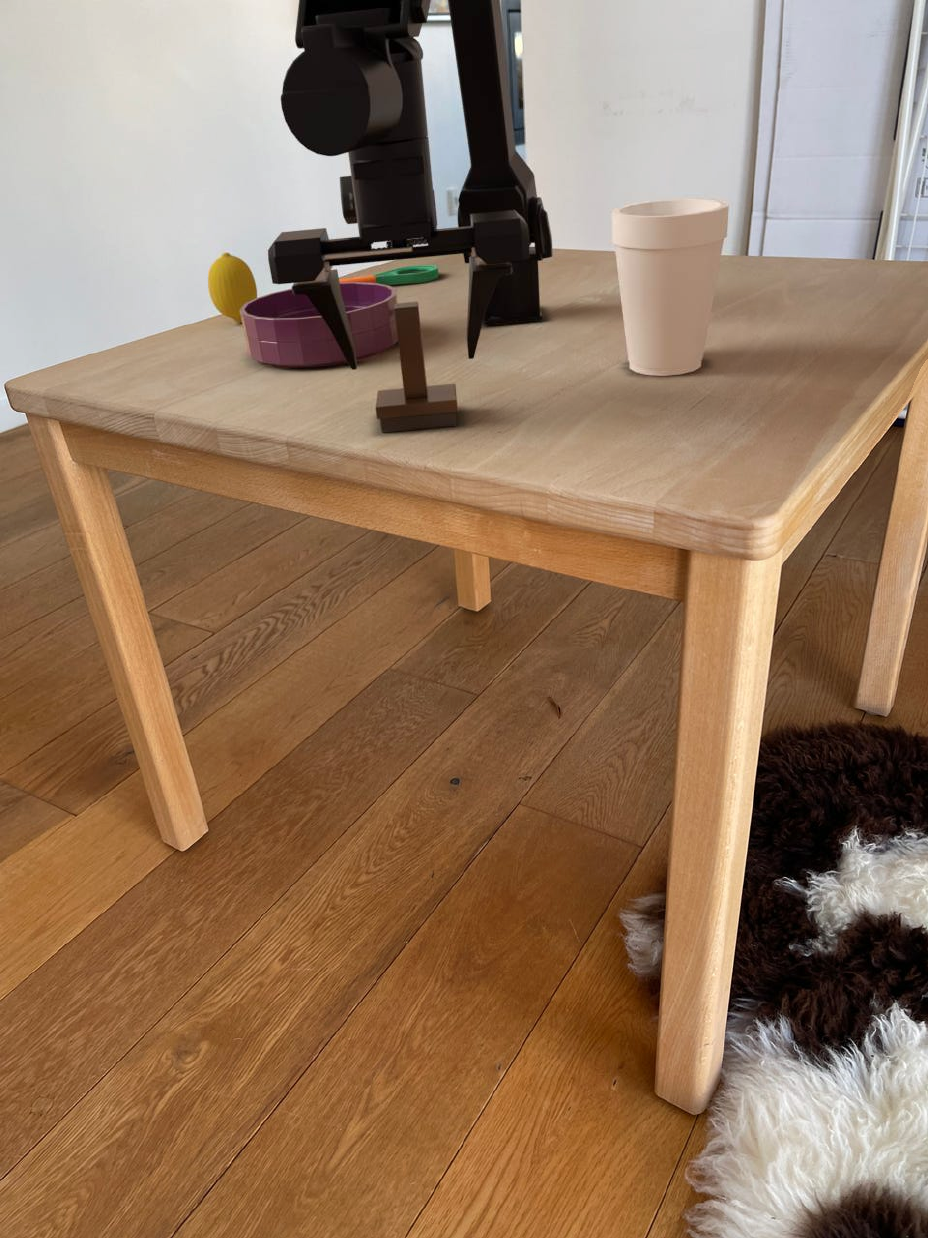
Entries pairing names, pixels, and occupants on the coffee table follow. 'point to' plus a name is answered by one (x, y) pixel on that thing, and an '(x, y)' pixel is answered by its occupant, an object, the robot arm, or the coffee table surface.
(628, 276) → the foam cup
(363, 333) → the bowl
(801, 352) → the coffee table surface
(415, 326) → the brush
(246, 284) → the lemon
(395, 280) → the magnifying glass
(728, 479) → the coffee table surface
